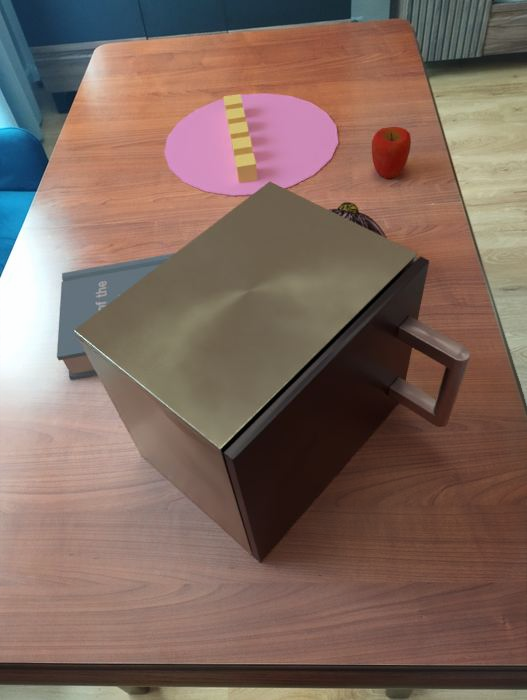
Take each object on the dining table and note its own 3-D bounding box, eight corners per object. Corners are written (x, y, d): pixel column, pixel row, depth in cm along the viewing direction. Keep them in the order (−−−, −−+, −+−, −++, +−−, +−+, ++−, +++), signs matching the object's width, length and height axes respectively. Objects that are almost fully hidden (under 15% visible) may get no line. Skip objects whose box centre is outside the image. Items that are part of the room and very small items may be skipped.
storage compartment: (393, 395, 71) (418, 253, 53) (252, 555, 61) (220, 449, 42) (282, 325, 80) (269, 180, 61) (141, 456, 69) (73, 330, 50)
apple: (386, 156, 101) (390, 116, 95) (415, 171, 98) (421, 130, 92) (361, 173, 98) (364, 133, 92) (390, 188, 95) (395, 148, 89)
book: (70, 379, 77) (56, 357, 73) (74, 292, 87) (62, 268, 83) (239, 348, 78) (235, 324, 74) (224, 265, 88) (219, 240, 84)
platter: (167, 209, 97) (163, 192, 94) (161, 107, 116) (157, 91, 114) (357, 179, 97) (358, 162, 95) (319, 83, 117) (319, 66, 114)
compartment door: (453, 432, 67) (501, 295, 49) (312, 610, 57) (307, 521, 39) (395, 395, 71) (420, 255, 53) (253, 557, 61) (222, 452, 42)
